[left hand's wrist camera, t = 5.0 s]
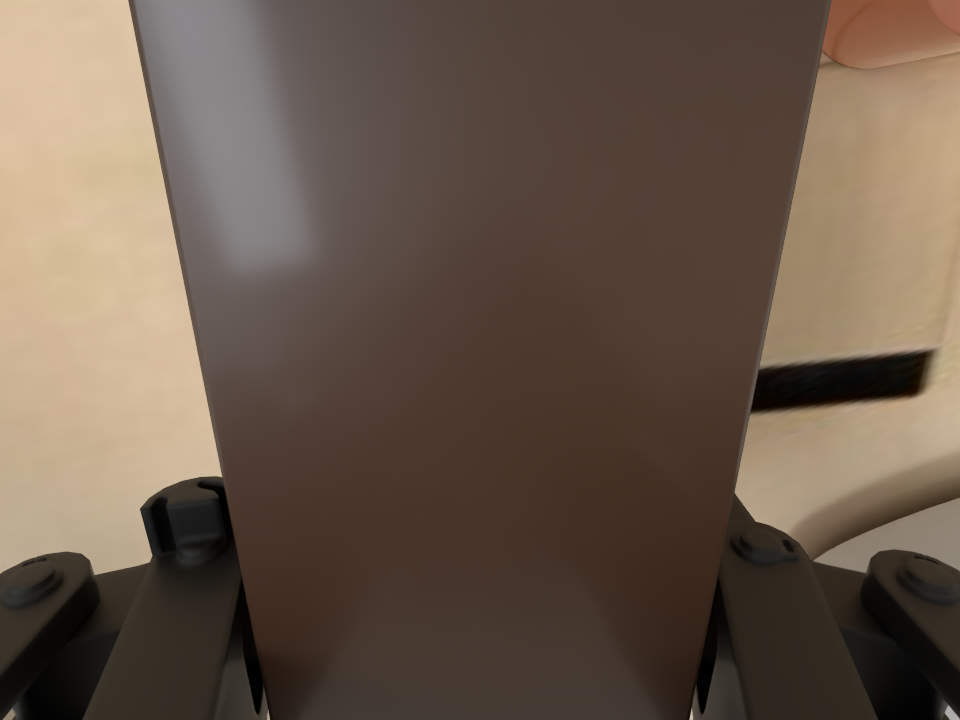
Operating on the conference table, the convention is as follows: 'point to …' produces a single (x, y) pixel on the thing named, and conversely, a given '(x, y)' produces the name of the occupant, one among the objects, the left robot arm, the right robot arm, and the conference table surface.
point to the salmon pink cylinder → (891, 31)
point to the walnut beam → (479, 329)
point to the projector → (905, 542)
